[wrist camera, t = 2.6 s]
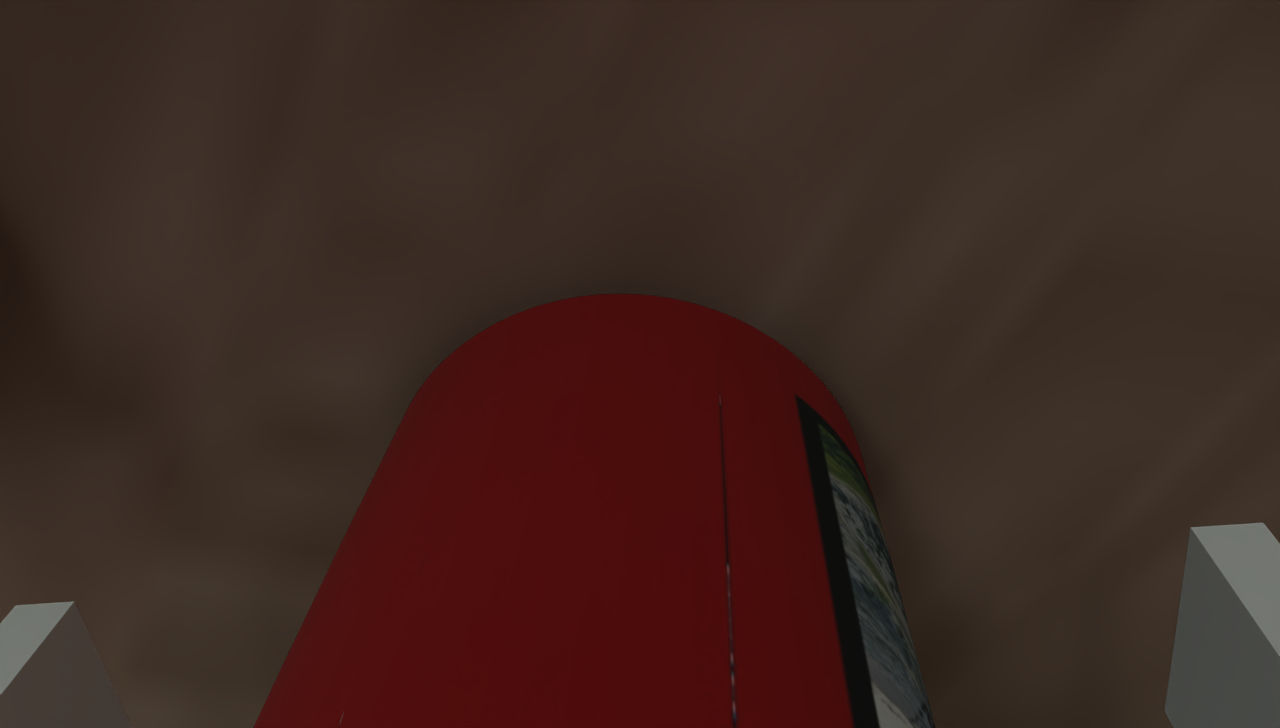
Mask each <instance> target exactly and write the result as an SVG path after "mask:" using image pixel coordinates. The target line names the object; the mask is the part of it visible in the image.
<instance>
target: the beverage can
mask: <svg viewBox="0 0 1280 728" xmlns="http://www.w3.org/2000/svg"><path fill="white" fill-rule="evenodd" d="M254 728H935V724H934V720H933V716H932V713H931V709H930V705H929V701H928V697H927V694H926V690H925V686H924V682H923V679H922V675H921V671H920V667H919V663H918V660H917V656H916V652H915V648H914V645H913V641H912V637H911V633H910V630H909V626H908V622H907V618H906V614H905V611H904V607H903V603H902V599H901V596H900V592H899V588H898V584H897V580H896V577H895V573H894V569H893V565H892V562H891V558H890V555H889V551H888V548H887V544H886V540H885V537H884V533H883V530H882V526H881V523H880V519H879V515H878V512H877V508H876V505H875V501H874V498H873V494H872V491H871V487H870V483H869V480H868V476H867V473H866V469H865V466H864V462H863V458H862V455H861V451H860V448H859V445H858V443H857V440H856V437H855V435H854V432H853V430H852V428H851V426H850V424H849V422H848V420H847V418H846V416H845V414H844V412H843V411H842V409H841V408H840V406H839V404H838V403H837V401H836V400H835V398H834V397H833V395H832V394H831V393H830V392H829V390H828V389H827V388H826V386H825V385H824V384H823V383H822V381H821V380H820V379H819V378H818V377H817V376H816V375H815V374H814V373H813V372H812V371H811V370H810V369H809V368H808V367H807V366H806V365H805V364H804V363H803V362H802V361H801V360H800V359H798V358H797V357H796V356H795V355H794V354H793V353H792V352H790V351H789V350H788V349H786V348H785V347H784V346H782V345H781V344H780V343H778V342H777V341H775V340H774V339H773V338H771V337H769V336H768V335H766V334H764V333H763V332H761V331H759V330H758V329H756V328H754V327H752V326H750V325H748V324H746V323H744V322H742V321H740V320H738V319H736V318H734V317H731V316H729V315H726V314H724V313H721V312H719V311H716V310H714V309H710V308H707V307H704V306H701V305H697V304H694V303H690V302H686V301H681V300H677V299H672V298H666V297H658V296H651V295H638V294H600V295H590V296H580V297H574V298H569V299H564V300H558V301H554V302H551V303H547V304H543V305H540V306H536V307H533V308H531V309H528V310H525V311H522V312H520V313H517V314H515V315H512V316H510V317H508V318H506V319H504V320H502V321H500V322H497V323H496V324H494V325H492V326H490V327H489V328H487V329H485V330H484V331H482V332H480V333H478V334H477V335H475V336H474V337H473V338H471V339H470V340H468V341H467V342H466V343H464V344H463V345H461V346H460V347H459V348H458V349H456V350H455V351H454V352H453V353H452V354H451V355H450V356H448V357H447V358H446V359H445V360H444V361H443V362H442V363H441V364H440V365H439V366H438V367H437V368H436V369H435V370H434V371H433V372H432V374H431V375H430V376H429V377H428V379H427V380H426V381H425V382H424V384H423V385H422V386H421V388H420V389H419V391H418V392H417V394H416V395H415V397H414V399H413V400H412V402H411V403H410V405H409V407H408V409H407V411H406V413H405V415H404V417H403V419H402V421H401V423H400V425H399V427H398V429H397V431H396V433H395V435H394V437H393V439H392V441H391V443H390V445H389V447H388V449H387V451H386V453H385V455H384V457H383V459H382V461H381V463H380V465H379V468H378V470H377V472H376V474H375V476H374V478H373V480H372V482H371V484H370V486H369V488H368V490H367V492H366V494H365V496H364V498H363V500H362V502H361V504H360V506H359V508H358V510H357V512H356V514H355V516H354V518H353V520H352V522H351V524H350V526H349V528H348V530H347V532H346V534H345V536H344V538H343V541H342V543H341V545H340V547H339V549H338V551H337V553H336V555H335V557H334V559H333V561H332V563H331V565H330V568H329V570H328V572H327V574H326V576H325V578H324V580H323V582H322V584H321V586H320V588H319V591H318V593H317V595H316V597H315V599H314V601H313V603H312V605H311V607H310V609H309V612H308V614H307V616H306V618H305V620H304V622H303V624H302V626H301V628H300V630H299V633H298V635H297V637H296V639H295V641H294V643H293V645H292V647H291V649H290V651H289V654H288V656H287V658H286V660H285V662H284V664H283V666H282V668H281V670H280V672H279V675H278V677H277V679H276V681H275V683H274V685H273V687H272V689H271V692H270V694H269V696H268V698H267V700H266V702H265V704H264V706H263V708H262V711H261V713H260V715H259V717H258V719H257V721H256V723H255V725H254Z"/></svg>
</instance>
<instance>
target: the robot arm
mask: <svg viewBox="0 0 1280 728" xmlns="http://www.w3.org/2000/svg"><path fill="white" fill-rule="evenodd" d="M1165 713H1166V715H1167V717H1168V719H1169V721H1170V722H1171V724H1172V726H1173V728H1280V543H1279V542H1278V541H1277V539H1276V538H1275V537H1274V536H1273V534H1272V533H1271V532H1270V531H1269V529H1268V528H1267V527H1266V526H1265V524H1264V523H1250V524H1235V525H1219V526H1204V527H1191V528H1190V535H1189V542H1188V549H1187V556H1186V563H1185V570H1184V577H1183V584H1182V591H1181V598H1180V605H1179V613H1178V620H1177V627H1176V634H1175V641H1174V648H1173V655H1172V662H1171V669H1170V676H1169V683H1168V690H1167V697H1166V704H1165ZM0 728H132V726H131V724H130V722H129V720H128V718H127V715H126V713H125V711H124V709H123V707H122V705H121V702H120V700H119V698H118V696H117V694H116V691H115V689H114V687H113V685H112V683H111V681H110V678H109V676H108V674H107V672H106V670H105V667H104V665H103V663H102V661H101V659H100V657H99V654H98V652H97V650H96V648H95V646H94V643H93V641H92V639H91V637H90V635H89V633H88V630H87V628H86V626H85V624H84V622H83V619H82V617H81V615H80V613H79V611H78V608H77V606H76V604H75V602H74V601H73V602H58V603H43V604H28V605H16V606H15V607H14V608H13V609H12V610H11V611H10V613H9V614H8V615H7V616H6V617H5V618H4V620H3V621H2V622H1V623H0Z"/></svg>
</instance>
